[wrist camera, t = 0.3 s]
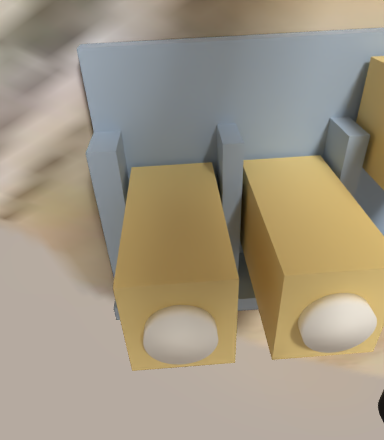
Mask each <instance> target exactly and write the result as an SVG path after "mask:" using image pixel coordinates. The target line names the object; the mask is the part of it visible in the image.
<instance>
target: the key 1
mask: <svg viewBox="0 0 384 440" xmlns="http://www.w3.org/2000/svg"><path fill="white" fill-rule="evenodd" d="M113 291H114V295H115V300H116V304H117V308H118V312H119V317H120V321H121V325H122V329H123V334H124V338H125V342H126V346H127V351H128V355H129V359H130V363H131V367H132V371H136V370H148V369H161V368H174V367H187V366H199V365H212V364H224V363H235V354H236V333H237V313H238V292H239V276H238V272H237V268H236V263H235V259H234V255H233V250H232V246H231V242H230V237H229V233H228V229H227V225H226V220H225V216H224V212H223V207H222V203H221V199H220V194H219V190H218V186H217V182H216V177H215V173H214V169H213V164H212V162H207V163H191V164H175V165H160V166H144V167H131V174H130V180H129V187H128V193H127V200H126V206H125V213H124V219H123V226H122V232H121V239H120V245H119V251H118V258H117V264H116V271H115V277H114V284H113Z"/></svg>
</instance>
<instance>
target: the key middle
mask: <svg viewBox="0 0 384 440" xmlns="http://www.w3.org/2000/svg"><path fill="white" fill-rule="evenodd" d="M240 242H241V245H242V249H243V253H244V257H245V260H246V264H247V268H248V271H249V275H250V279H251V283H252V286H253V290H254V294H255V298H256V301H257V305H258V309H259V313H260V316H261V320H262V324H263V327H264V331H265V335H266V339H267V342H268V346H269V350H270V354H271V357H272V360H275V359H288V358H301V357H313V356H326V355H339V354H351V353H364V352H373V350H374V348H375V345H376V343H377V341H378V338H379V336H380V333H381V331H382V328H383V326H384V236H383V234H382V233H381V232H380V231H379V229H378V228H377V227H376V226H375V224H374V223H373V222H372V220H371V219H370V218H369V217H368V215H367V214H366V213H365V212H364V210H363V209H362V208H361V206H360V205H359V204H358V203H357V201H356V200H355V199H354V198H353V196H352V195H351V194H350V192H349V191H348V190H347V189H346V187H345V186H344V185H343V183H342V182H341V181H340V180H339V178H338V177H337V176H336V175H335V173H334V172H333V171H332V169H331V168H330V167H329V166H328V164H327V163H326V162H325V161H324V159H323V158H322V157H321V155H315V156H300V157H284V158H269V159H253V160H243V182H242V203H241V225H240Z"/></svg>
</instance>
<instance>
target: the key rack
mask: <svg viewBox="0 0 384 440" xmlns="http://www.w3.org/2000/svg"><path fill="white" fill-rule="evenodd" d="M77 52H78V57H79V62H80V67H81V72H82V77H83V82H84V86H85V91H86V96H87V101H88V106H89V111H90V116H91V120H92V125H93V130H94V133H93V136H92V138H91V141H90V143H89V146H88V148H87V151H86V157H87V162H88V166H89V171H90V175H91V179H92V184H93V188H94V193H95V197H96V201H97V206H98V210H99V215H100V219H101V223H102V228H103V232H104V237H105V241H106V245H107V250H108V254H109V259H110V263H111V267H112V272H113V276H114V277H115V271H116V264H117V258H118V251H119V245H120V239H121V232H122V226H123V219H124V213H125V206H126V200H127V193H128V187H129V180H130V174H131V167H144V166H160V165H175V164H191V163H207V162H212V164H213V169H214V173H215V177H216V182H217V186H218V190H219V194H220V199H221V203H222V207H223V212H224V216H225V220H226V225H227V229H228V233H229V237H230V242H231V246H232V250H233V255H234V259H235V263H236V268H237V272H238V276H239V292H238V311H242V310H255V309H258V305H257V301H256V298H255V294H254V290H253V286H252V283H251V279H250V275H249V271H248V268H247V264H246V260H245V257H244V253H243V249H242V245H241V242H240V225H241V203H242V182H243V160H253V159H269V158H284V157H300V156H315V155H321V157H322V158H323V159H324V161H325V162H326V163H327V164H328V166H329V167H330V168H331V169H332V171H333V172H334V173H335V175H336V176H337V177H338V178H339V180H340V181H341V182H342V183H343V185H344V186H345V187H346V189H347V190H348V191H349V192H350V194H351V195H352V196H353V198H354V199H355V200H356V201H357V203H358V204H359V205H360V206H361V208H362V209H363V210H364V212H365V213H366V214H367V215H368V217H369V218H370V219H371V220H372V222H373V223H374V224H375V226H376V227H377V228H378V229H379V231H380V232H381V233H382V234H383V236H384V190H383V189H382V188H381V187H380V186H379V185H378V184H377V183H376V182H375V181H374V180H373V178H372V177H371V176H370V175H369V174H368V173H367V172H366V171H365V170H364V169H363V168H362V166H363V162H364V158H365V154H366V150H367V146H368V142H369V139H370V134H368V133H367V132H366V131H365V130H364V129H363V128H362V127H360V126H359V125H358V124H357V123H356V120H357V116H358V111H359V107H360V103H361V98H362V94H363V89H364V85H365V81H366V76H367V72H368V67H369V63H370V59H371V57H373V56H384V28H368V29H350V30H332V31H314V32H296V33H277V34H259V35H241V36H223V37H205V38H186V39H168V40H150V41H132V42H114V43H95V44H81V45H80V46H79V47H78V48H77ZM114 311H115V316H116V320H120V317H119V312H118V308H117V304H116V300H115V303H114Z"/></svg>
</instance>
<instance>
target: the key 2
mask: <svg viewBox="0 0 384 440" xmlns="http://www.w3.org/2000/svg"><path fill="white" fill-rule="evenodd" d="M356 123H357V124H358V125H359V126H360V127H362V128H363V129H364V130H365V131H366V132H367V133H368V134H370V139H369V142H368V146H367V150H366V154H365V158H364V162H363V166H362V168H363V169H364V170H365V171H366V172H367V173H368V174H369V175H370V176H371V177H372V178H373V180H374V181H375V182H376V183H377V184H378V185H379V186H380V187H381V188H382V189H383V190H384V56H373V57H371V59H370V63H369V67H368V72H367V76H366V81H365V85H364V89H363V94H362V98H361V103H360V107H359V111H358V116H357V120H356Z"/></svg>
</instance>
